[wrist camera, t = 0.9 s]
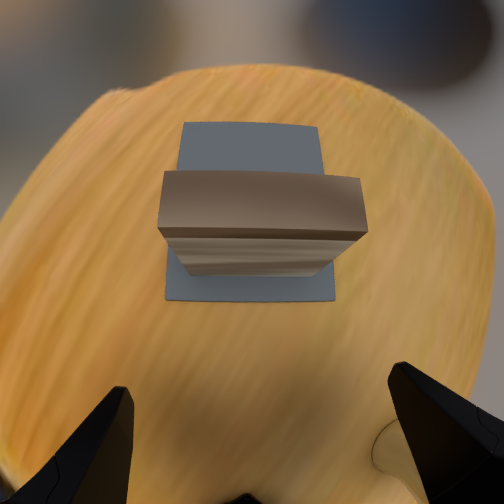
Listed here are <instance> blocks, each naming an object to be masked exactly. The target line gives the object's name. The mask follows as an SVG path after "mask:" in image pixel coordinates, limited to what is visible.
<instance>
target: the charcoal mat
mask: <svg viewBox="0 0 504 504" xmlns="http://www.w3.org/2000/svg"><path fill="white" fill-rule="evenodd" d="M183 170H237V171H270V172H290V173H307V174H320V175H324V169H323V162H322V155H321V148H320V142H319V136H318V130H317V127H312V126H302V125H290V124H275V123H256V122H184V125H183V131H182V137H181V144H180V150H179V157H178V164H177V171H183ZM165 300H172V301H204V302H317V301H335V300H336V299H335V280H334V265H333V261H331V262H330V263H329V264H328V265H326V266H325V267H324V268H323V269H321V270H320V271H319V272H317V273H316V274H315V275H314V276H312V277H253V276H190V274H189V273H188V272H187V270H186V269H185V267H184V266H183V264H182V263H181V262H180V260H179V259H178V257H177V256H176V254H175V253H174V251H173V250H172V249H171V247H170V246H169V244H168V257H167V272H166V290H165Z"/></svg>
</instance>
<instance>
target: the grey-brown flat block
mask: <svg viewBox="0 0 504 504" xmlns="http://www.w3.org/2000/svg"><path fill="white" fill-rule="evenodd" d="M157 228H158V229H159V231H160V232H161V234H162V235H163V237H164V238H165V240H166V241H167V243H168V244H169V246H170V247H171V249H172V250H173V251H174V253H175V254H176V256H177V257H178V259H179V260H180V262H181V263H182V264H183V266H184V267H185V269H186V270H187V272H188V273H189V274H190V276H253V277H312V276H314V275H315V274H316V273H317V272H319V271H320V270H321V269H323V268H324V267H325V266H326V265H328V264H329V263H330V262H331V261H333V260H334V259H335V258H336V257H338V256H339V255H340V254H341V253H343V252H344V251H345V250H346V249H348V248H349V247H350V246H351V245H353V244H354V243H355V242H356V241H357V240H359V239H360V238H361V237H362V236H364V235H365V234H366V233H367V232H368V226H367V219H366V212H365V206H364V200H363V194H362V188H361V182H360V178H354V177H344V176H333V175H320V174H307V173H290V172H270V171H237V170H183V171H164V178H163V185H162V192H161V199H160V207H159V215H158V224H157Z"/></svg>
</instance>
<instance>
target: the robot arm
mask: <svg viewBox="0 0 504 504" xmlns="http://www.w3.org/2000/svg"><path fill="white" fill-rule="evenodd" d="M388 387H389V390H390V393H391V397H392V400H393V404H394V407H395V411H396V414H397V417H398V420H399V423H400V425H401V428H402V430H403V433H404V435H405V438H406V440H407V443H408V446H409V448H410V451H411V454H412V456H413V459H414V462H415V464H416V467H417V470H418V473H419V476H420V478H421V481H422V484H423V487H424V490H425V493H426V496H427V499H428V502H429V504H504V421H502V420H500V419H498V418H496V417H494V416H492V415H491V414H489V413H487V412H486V411H484V410H482V409H481V408H479V407H476V406H475V405H474V404H472V403H471V402H469V401H468V400H466V399H464V398H463V397H461V396H460V395H458V394H456V393H455V392H453V391H452V390H450V389H449V388H447V387H445V386H444V385H442V384H441V383H439V382H437V381H436V380H434V379H433V378H431V377H429V376H428V375H426V374H425V373H423V372H422V371H420V370H418V369H417V368H415V367H414V366H412V365H411V364H409V363H407V362H405V361H403V362H399V363H395V364H394V366H393V368H392V370H391V372H390V375H389V377H388ZM133 430H134V402H133V399H132V397H131V395H130V393H129V390H128V389H127V388H126V387H122V386H115V387H113V388H112V389H111V391H110V392H109V393H108V394H107V395H106V396H105V397H104V398H103V400H102V401H101V402H100V403H99V404H98V405H97V406H96V407H95V409H94V410H93V411H92V412H91V413H90V414H89V415H88V416H87V418H86V419H85V420H84V421H83V422H82V423H81V424H80V426H79V427H78V428H77V429H76V430H75V431H74V432H73V433H72V435H71V436H70V437H69V438H68V439H67V440H66V441H65V443H64V444H63V445H62V446H61V447H60V448H59V449H58V451H57V452H56V453H55V455H53V456H52V457H51V459H50V460H49V461H48V462H47V463H46V464H45V465H44V466H43V467H42V468H41V470H40V471H39V472H38V473H37V474H36V475H34V476H33V477H32V478H31V479H30V480H29V481H28V482H27V483H26V484H25V485H23V486H22V487H21V488H20V489H19V490H18V491H17V492H16V493H14V494H13V495H12V496H11V497H10V498H8V499H6V500H5V501H2V502H0V504H126V502H127V491H128V482H129V474H130V466H131V458H132V451H133ZM245 498H250V499H248V500H246V499H245ZM225 504H262V503H261V502H260V501H258V500H257V499H256V498H255V497H253V496H252V495H251V494H243V495H242V496H240V497H238V498H237V499H235V500H233V501H232V502H230V503H225Z"/></svg>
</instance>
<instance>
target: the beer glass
mask: <svg viewBox="0 0 504 504" xmlns="http://www.w3.org/2000/svg"><path fill="white" fill-rule="evenodd" d="M372 460H373V463H374V465H375V466H376V467H377V468H378V469H379V470H381V471H383V472H385V473H388V474H390V475H393V476H395V477H397V478H398V479H399V480H400V481H401V482H402V483H403V484H404V486H405V487H406V488H407V490H408V491H409V492H410V494H411V495H412V496H413V497H414V499H415V500H416V501H417V503H418V504H429V502H428V499H427V496H426V493H425V490H424V487H423V484H422V481H421V478H420V476H419V473H418V470H417V467H416V464H415V462H414V459H413V456H412V454H411V451H410V448H409V446H408V443H407V440H406V438H405V435H404V433H403V430H402V428H401V425H400V423H399V420H396V421H394V422H392V423H391V424H389V425H388V426H387V427H386V428H385V429H384V430H383V431H382V432H381V433H380V435H379V436H378V438H377V439H376V441H375V444H374V446H373V450H372Z"/></svg>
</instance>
